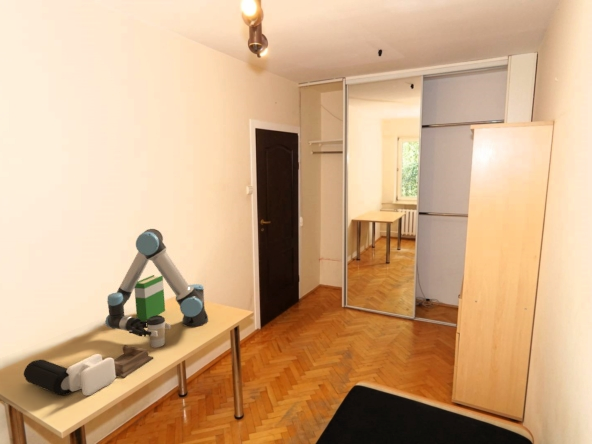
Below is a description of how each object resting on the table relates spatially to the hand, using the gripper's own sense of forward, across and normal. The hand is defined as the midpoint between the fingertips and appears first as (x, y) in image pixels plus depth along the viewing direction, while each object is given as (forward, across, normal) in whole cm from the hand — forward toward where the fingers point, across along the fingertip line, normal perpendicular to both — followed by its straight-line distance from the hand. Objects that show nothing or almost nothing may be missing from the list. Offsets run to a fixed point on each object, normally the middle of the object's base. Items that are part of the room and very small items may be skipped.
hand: (163, 330), depth 189 cm
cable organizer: (-5, +39, -10) cm, 40 cm away
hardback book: (-39, -32, -10) cm, 52 cm away
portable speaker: (-21, +45, -10) cm, 51 cm away
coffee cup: (-5, 0, -9) cm, 10 cm away
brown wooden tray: (-7, +20, -10) cm, 23 cm away
